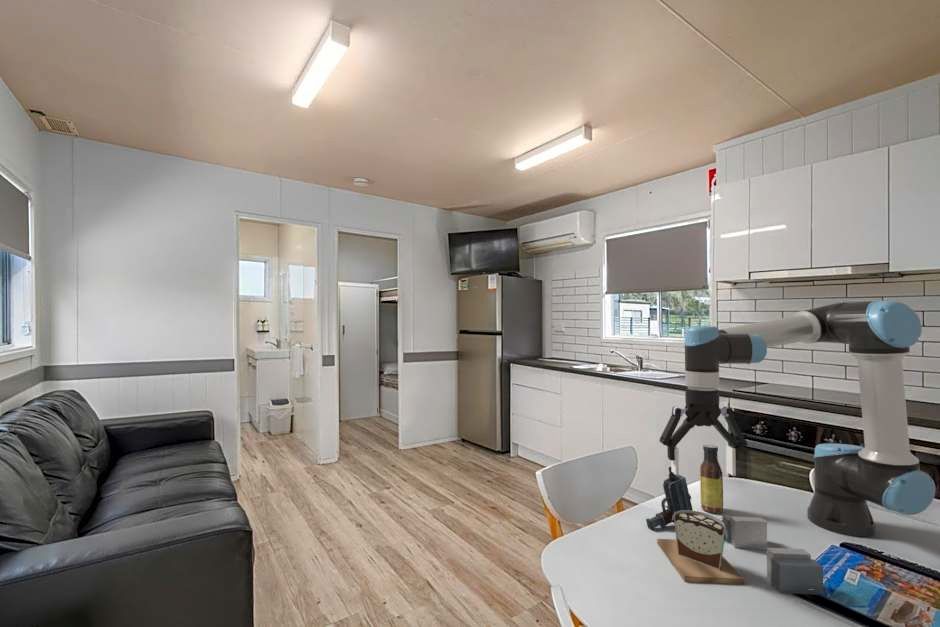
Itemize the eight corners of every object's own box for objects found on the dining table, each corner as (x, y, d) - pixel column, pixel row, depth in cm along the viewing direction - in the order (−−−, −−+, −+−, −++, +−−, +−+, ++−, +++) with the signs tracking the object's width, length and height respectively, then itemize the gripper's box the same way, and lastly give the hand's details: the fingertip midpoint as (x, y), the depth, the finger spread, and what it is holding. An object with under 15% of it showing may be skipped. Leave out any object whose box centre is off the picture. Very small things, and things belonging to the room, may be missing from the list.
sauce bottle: (727, 514, 134) (727, 449, 134) (707, 514, 134) (706, 449, 134) (715, 505, 140) (715, 443, 141) (696, 505, 140) (696, 443, 141)
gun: (635, 479, 125) (677, 461, 129) (648, 534, 126) (690, 515, 130) (641, 482, 122) (684, 464, 126) (654, 539, 123) (697, 519, 127)
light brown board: (707, 545, 115) (707, 540, 115) (744, 584, 98) (744, 578, 98) (657, 543, 116) (657, 538, 116) (684, 581, 99) (684, 576, 99)
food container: (734, 563, 105) (734, 520, 105) (726, 573, 101) (726, 529, 101) (681, 543, 114) (681, 505, 114) (671, 552, 109) (671, 512, 110)
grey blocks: (748, 531, 123) (748, 506, 123) (823, 594, 95) (823, 562, 95) (715, 530, 124) (714, 505, 124) (779, 592, 95) (779, 560, 95)
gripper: (745, 385, 113) (746, 469, 112) (645, 385, 114) (646, 467, 114) (762, 390, 105) (764, 479, 105) (656, 390, 106) (657, 478, 106)
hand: (703, 473), depth 109 cm, fingers open, 13 cm apart
